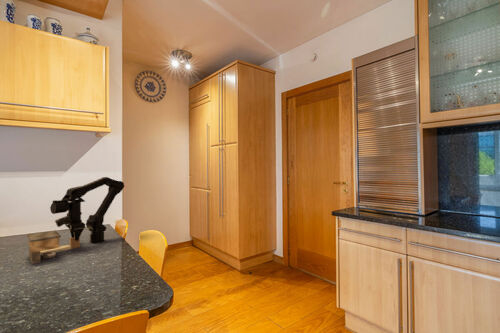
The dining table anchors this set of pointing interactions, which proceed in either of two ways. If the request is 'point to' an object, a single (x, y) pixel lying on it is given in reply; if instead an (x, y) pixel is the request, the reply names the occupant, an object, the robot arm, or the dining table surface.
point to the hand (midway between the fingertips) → (74, 239)
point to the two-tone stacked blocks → (71, 245)
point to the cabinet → (42, 244)
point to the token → (49, 254)
